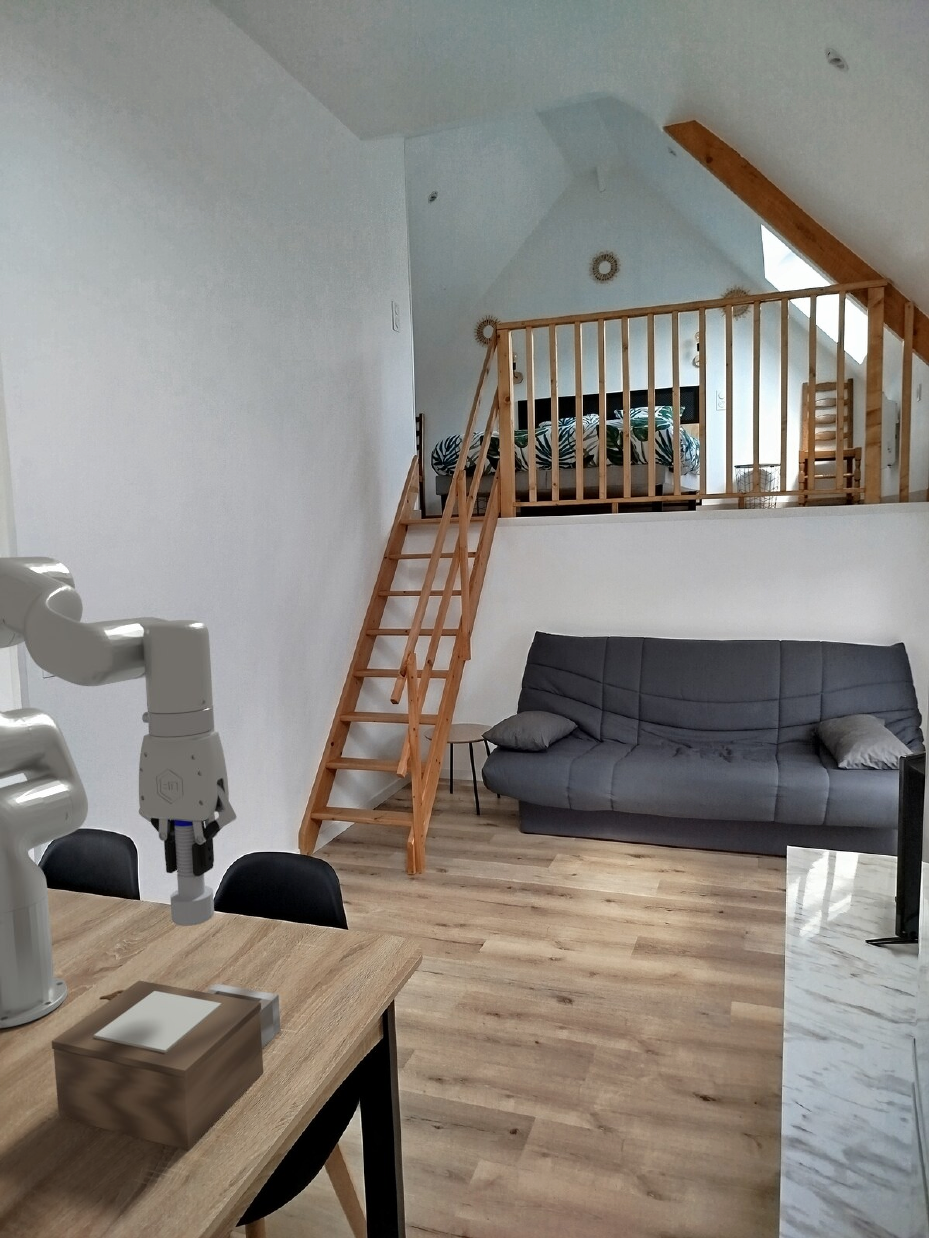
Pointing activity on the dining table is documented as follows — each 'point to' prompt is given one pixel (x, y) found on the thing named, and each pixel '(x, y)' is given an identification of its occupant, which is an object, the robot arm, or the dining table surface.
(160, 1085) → the wooden box
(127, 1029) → the lid mat
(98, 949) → the dining table surface
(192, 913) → the bolt
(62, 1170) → the dining table surface
